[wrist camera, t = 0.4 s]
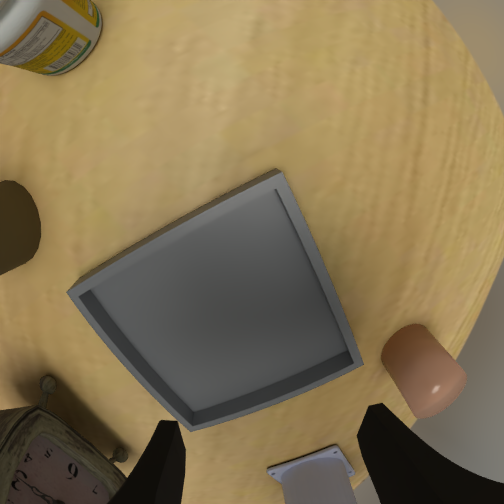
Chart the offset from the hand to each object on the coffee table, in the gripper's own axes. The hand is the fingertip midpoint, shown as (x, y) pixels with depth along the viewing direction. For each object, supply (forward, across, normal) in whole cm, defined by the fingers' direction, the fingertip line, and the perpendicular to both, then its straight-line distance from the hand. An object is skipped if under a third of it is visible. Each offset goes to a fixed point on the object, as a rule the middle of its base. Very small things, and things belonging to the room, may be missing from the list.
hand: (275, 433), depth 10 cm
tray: (+10, +2, +1) cm, 10 cm away
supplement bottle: (+10, +11, -18) cm, 23 cm away
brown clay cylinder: (+10, -12, +5) cm, 16 cm away
